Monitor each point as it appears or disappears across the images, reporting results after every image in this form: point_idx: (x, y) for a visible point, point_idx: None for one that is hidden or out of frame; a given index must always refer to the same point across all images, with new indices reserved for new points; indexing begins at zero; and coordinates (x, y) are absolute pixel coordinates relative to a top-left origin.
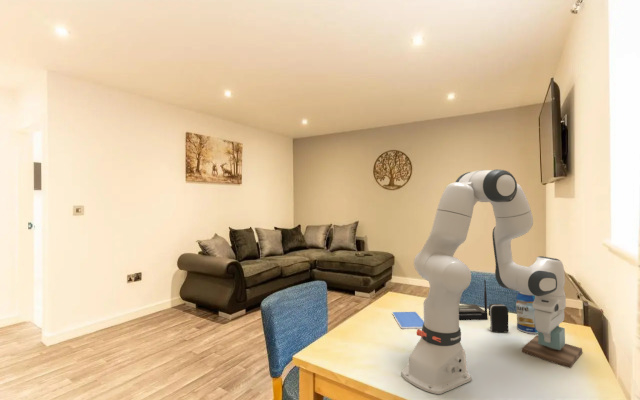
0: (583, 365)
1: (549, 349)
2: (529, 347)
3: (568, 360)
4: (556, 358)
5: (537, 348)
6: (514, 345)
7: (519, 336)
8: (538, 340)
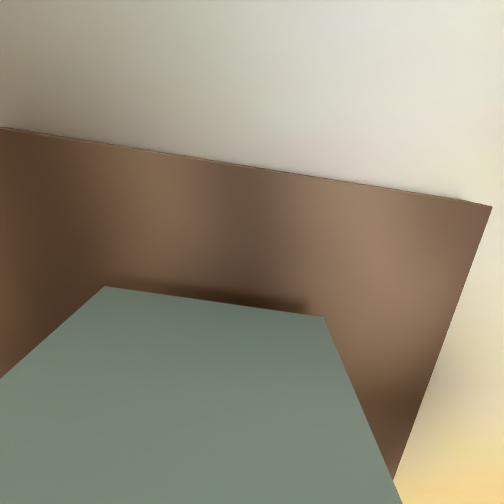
0: None
1: None
2: (58, 192)
3: None
4: None
5: (98, 263)
6: (119, 20)
7: (446, 16)
8: (81, 308)
